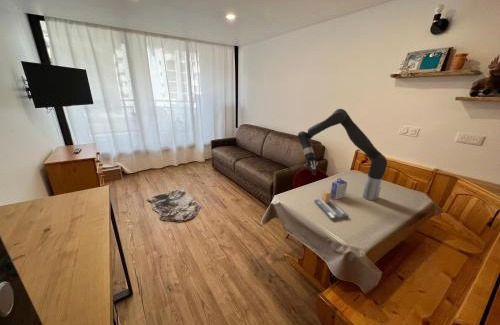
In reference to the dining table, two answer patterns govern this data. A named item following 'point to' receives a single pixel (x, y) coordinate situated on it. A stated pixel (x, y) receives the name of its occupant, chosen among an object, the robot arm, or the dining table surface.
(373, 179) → the robot arm
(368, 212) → the dining table surface
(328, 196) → the switch tab
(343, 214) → the switch panel
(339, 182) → the ink cartridge box
